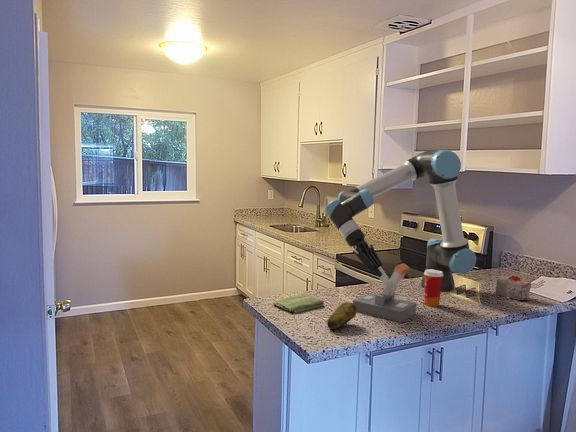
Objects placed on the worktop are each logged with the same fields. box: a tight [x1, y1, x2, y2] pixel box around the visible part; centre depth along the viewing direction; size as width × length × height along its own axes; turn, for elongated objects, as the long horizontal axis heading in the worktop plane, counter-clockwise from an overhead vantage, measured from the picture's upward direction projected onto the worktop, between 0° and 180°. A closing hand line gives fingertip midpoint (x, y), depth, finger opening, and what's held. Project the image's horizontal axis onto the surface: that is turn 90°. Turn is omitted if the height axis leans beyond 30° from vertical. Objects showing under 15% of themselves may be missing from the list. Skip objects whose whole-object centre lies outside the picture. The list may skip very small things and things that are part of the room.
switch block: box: [352, 292, 418, 323], centre depth 177 cm, size 20×14×7 cm
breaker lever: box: [380, 262, 411, 302], centre depth 174 cm, size 3×6×16 cm, turn 142°
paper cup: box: [423, 269, 444, 308], centre depth 187 cm, size 8×8×14 cm
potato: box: [326, 301, 357, 330], centre depth 160 cm, size 8×13×8 cm, turn 118°
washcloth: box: [272, 292, 325, 314], centre depth 181 cm, size 13×18×3 cm
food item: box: [495, 275, 532, 301], centre depth 201 cm, size 14×8×10 cm, turn 38°
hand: (387, 282), depth 175 cm, fingers closed
